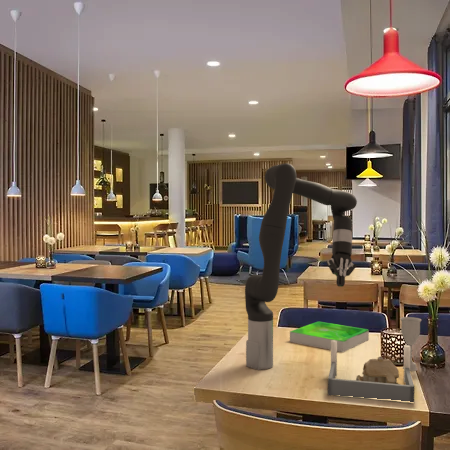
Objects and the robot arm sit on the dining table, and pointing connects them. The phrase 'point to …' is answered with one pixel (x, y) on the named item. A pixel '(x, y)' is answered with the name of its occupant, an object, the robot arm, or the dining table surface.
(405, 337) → the chalice
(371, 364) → the ceramic model
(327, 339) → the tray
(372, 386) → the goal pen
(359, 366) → the dining table surface
